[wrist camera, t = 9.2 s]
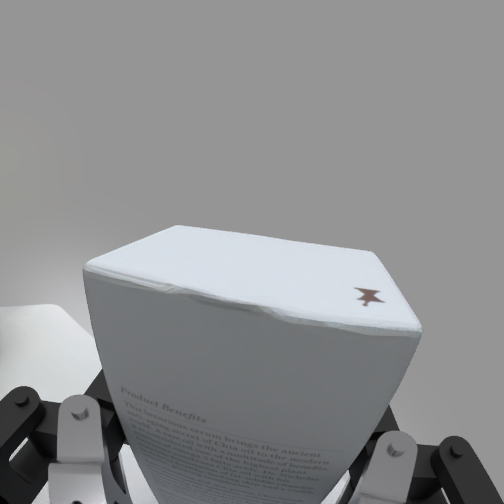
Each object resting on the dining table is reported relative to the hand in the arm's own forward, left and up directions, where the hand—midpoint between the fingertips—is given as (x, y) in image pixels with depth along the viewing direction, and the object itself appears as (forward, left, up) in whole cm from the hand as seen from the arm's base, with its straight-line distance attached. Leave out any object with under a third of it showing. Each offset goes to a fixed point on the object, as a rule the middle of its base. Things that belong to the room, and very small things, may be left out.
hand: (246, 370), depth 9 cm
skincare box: (0, -2, -7) cm, 7 cm away
